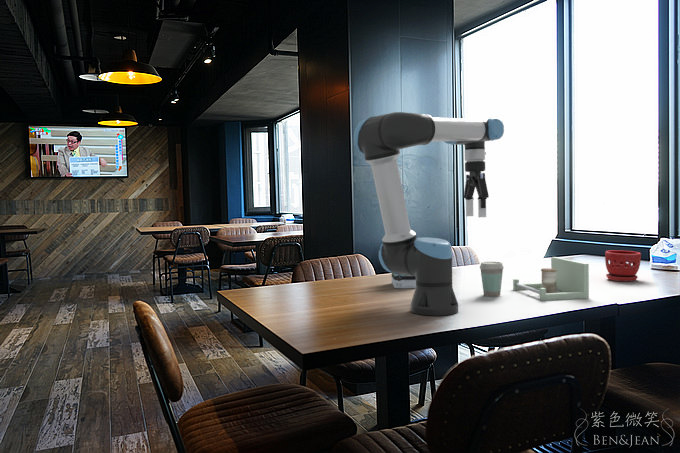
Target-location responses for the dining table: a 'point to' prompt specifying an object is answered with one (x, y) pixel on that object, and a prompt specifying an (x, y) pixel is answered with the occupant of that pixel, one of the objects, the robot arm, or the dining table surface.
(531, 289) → the pale green rack stand
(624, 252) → the plant pot
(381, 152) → the robot arm
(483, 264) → the coffee cup
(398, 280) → the tea box
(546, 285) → the spool
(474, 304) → the dining table surface
